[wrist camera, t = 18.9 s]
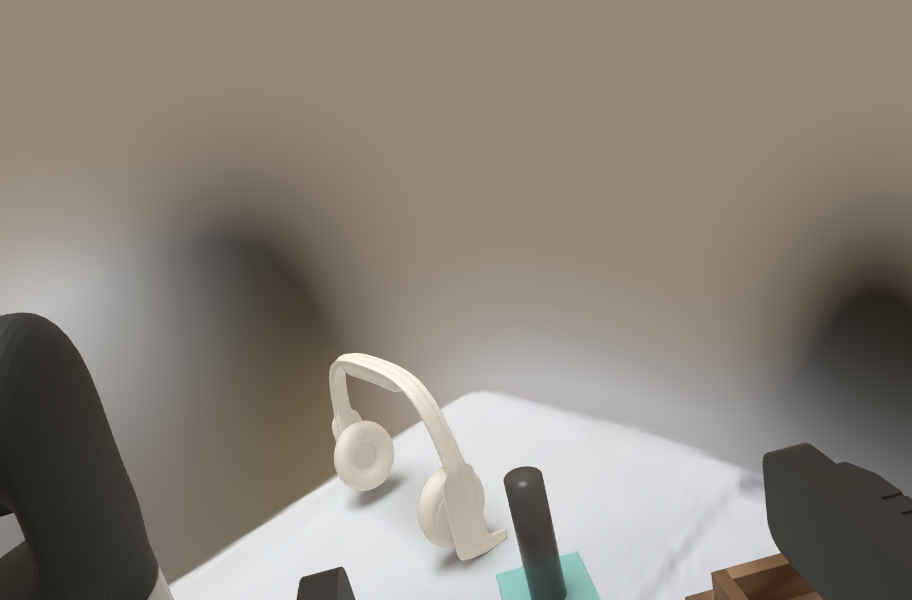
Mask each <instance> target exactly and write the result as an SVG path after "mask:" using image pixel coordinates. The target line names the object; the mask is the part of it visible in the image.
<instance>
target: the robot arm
mask: <svg viewBox="0 0 912 600" xmlns="http://www.w3.org/2000/svg"><path fill="white" fill-rule="evenodd" d="M763 474H764V486H765V498H766V509H767V520H768V526H769V529H770V533H771V535H772V538H773V540H774V542H775V544H776V546H777V547H778V549H779V551H780V552H781V553H782V555H783V556H784V557H785V558H786V559H787V561H788V562H789V563H790V564H791V565H792V566H793V567H794V568H795V569H796V570H797V571H798V573H799V574H800V575H801V576H802V577H803V578H804V579H805V580H806V581H807V582H808V583H809V585H810V586H811V587H812V588H813V589H814V590H815V591H816V592H817V593H818V594H819V595H820V596H821V598H822V599H823V600H912V499H911V498H910V497H908V496H904V495H903V494H902V492H901V491H900V490H899V489H897V488H896V487H894V486H893V485H892V484H890V483H889V482H887V481H886V480H884V479H883V478H882V477H881V476H879V475H877V474H876V473H873V472H871V471H868V470H865V469H863V468H860V467H858V466H855V465H853V464H850V463H847V462H842V463H838V464H836V463H835V462H833V461H832V460H831V459H829V458H828V457H827V456H825V455H824V454H823V453H821V452H820V451H819V450H817V449H816V448H815V447H814V446H812V445H811V444H808V443H802V444H798V445H794V446H790V447H787V448H783V449H779V450H776V451H772V452H768V453H766V454H765V455H764V457H763ZM11 513H14V514H15V515H16V518H17V520H18V523H19V525H20V527H21V530H22V532H23V534H24V538H25V541H24V542H22V543H21V544H19V545H18V546H16V547H15V548H14V549H13V550H11V551H10V552H8V553H7V554H5V555H4V556H3V557H1V558H0V600H174V599H173V596H172V594H171V592H170V590H169V587H168V585H167V583H166V581H165V579H164V576H163V574H162V572H161V570H160V567H159V565H158V563H157V560H156V558H155V555H154V553H153V551H152V548H151V546H150V544H149V540H148V537H147V533H146V529H145V525H144V521H143V518H142V514H141V510H140V506H139V503H138V500H137V497H136V494H135V491H134V489H133V486H132V484H131V482H130V479H129V476H128V474H127V472H126V469H125V467H124V465H123V462H122V459H121V456H120V454H119V451H118V448H117V446H116V443H115V440H114V437H113V435H112V432H111V429H110V426H109V423H108V421H107V418H106V415H105V412H104V409H103V406H102V404H101V401H100V398H99V395H98V392H97V390H96V388H95V385H94V383H93V380H92V377H91V375H90V373H89V371H88V369H87V367H86V365H85V363H84V361H83V359H82V357H81V355H80V353H79V352H78V350H77V349H76V347H75V346H74V345H73V343H72V342H71V340H70V339H69V338H68V336H67V335H66V334H65V333H64V332H63V331H62V330H61V329H60V328H59V327H58V326H57V325H55V324H54V323H52V322H51V321H49V320H48V319H46V318H44V317H42V316H39V315H37V314H32V313H13V314H6V315H2V316H0V517H1V516H4V515H8V514H11ZM297 600H355V597H354V594H353V591H352V588H351V585H350V582H349V579H348V576H347V574H346V571H345V570H344V568H343V567H338V568H335V569H331V570H327V571H323V572H320V573H316V574H312V575H309V576H305V577H302V578H301V580H300V583H299V588H298V595H297Z"/></svg>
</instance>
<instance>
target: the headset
mask: <svg viewBox="0 0 912 600" xmlns="http://www.w3.org/2000/svg"><path fill="white" fill-rule="evenodd" d="M345 372H346V373H347V374H349V375H351V376H354V377H357V378H360V379H363V380H366V381H369V382H371V383H374V384H377V385H379V386H382V387H384V388H386V389H388V390H391V391H394V392H399V391H402V392H404V394H405V395H406V396H407V397H408V398H409V400H410V401H411V402H412V403H413V405H414V407H415V408H416V410H417V411H418V413H419V415H420V416H421V418H422V420H423V422H424V424H425V425H426V427H427V429H428V431H429V434H430V436H431V438H432V440H433V442H434V445H435V447H436V449H437V452H438V454H439V457H440V459H441V462H442V465H443V467H442V468H441V469H439V470H438V471H436V472H435V473H434V474H433V475H432V476H431V477H430V478H429V480H428V481H427V483H426V484H425V486H424V488H423V490H422V492H421V495H420V499H419V504H418V520H419V524H420V527H421V530H422V532H423V533H424V535H425V536H426V538H427V539H428V540H429V541H430V542H432V543H433V544H435V545H437V546H440V547H453V546H455V549H456V552H457V555H458V557H459V559H460V560H461V561H465V560H469V559H472V558H475V557H477V556H479V555H481V554H484V553H486V552H488V551H489V550H491V549H492V548H494V547H495V546H497V545H498V544H500V543H501V542H502V541H504V540H505V539H506V538H507V534H506V531H505V530H504V529H501V530H499V531H496V532H494V533H489V531H488V529H487V527H486V523H485V520H484V515H483V508H484V490H483V486H482V483H481V481H480V479H479V477H478V476H477V475H476V473H475V472H474V470H473V468H472V467H471V466H470V465H469V464H467V463H465V461H464V459H463V457H462V455H461V453H460V450H459V448H458V446H457V443H456V441H455V439H454V437H453V434H452V432H451V430H450V428H449V426H448V424H447V422H446V420H445V418H444V416H443V414H442V412H441V410H440V408H439V407H438V405H437V403H436V402H435V400H434V399H433V397H432V396H431V394H430V393H429V392H428V390H427V389H426V388H425V387H424V385H423V384H422V383H421V382H420V381H419V380H418V379H417V378H416V377H414V376H413V375H412V374H410V373H409V372H408V371H406V370H405V369H403V368H401V367H399V366H397V365H395V364H393V363H390V362H388V361H385V360H382V359H379V358H376V357H373V356H370V355H366V354H361V353H353V354H345V355H342V356H340V357H339V358H338V359H337V360H336V362H334V363H333V364H332V365H331V368H330V373H329V382H330V392H331V399H332V404H333V410H334V420H333V422H332V430H333V434H334V437H335V440H336V443H337V444H336V447H335V452H334V463H335V468H336V471H337V474H338V476H339V477H340V479H341V480H342V481H343V483H344V484H346V485H347V486H348V487H350V488H352V489H354V490H357V491H368V490H372V489H374V488H376V487H378V486H379V485H381V484H382V483H383V482H384V481H385V480H386V478H387V477H388V475H389V473H390V471H391V469H392V466H393V461H394V448H393V444H392V441H391V438H390V436H389V435H388V433H387V432H386V431H385V429H384V428H382V427H381V426H380V425H378V424H376V423H374V422H371V421H362V420H361V418H360V415H359V414H358V412H356V411H355V410H352V409H351V407H350V403H349V399H348V394H347V388H346V380H345Z"/></svg>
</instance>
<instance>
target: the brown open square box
mask: <svg viewBox="0 0 912 600" xmlns="http://www.w3.org/2000/svg"><path fill="white" fill-rule="evenodd" d="M711 575H712V583H713V589H712V590H709V591H705V592H702V593H698V594H694V595H691V596H687V597H685V600H823V599H822V598H821V596H820V595H819V594H818V593H817V592H816V591H815V590H814V589H813V588H812V587H811V586H810V585H809V583H808V582H807V581H806V580H805V579H804V578H803V577H802V576H801V575H800V574H799V573H798V571H797V570H796V569H795V568H794V567H793V566H792V565H791V564H790V563H789V562H788V561H787V559H786V558H785V557H784V556H783V555H782V553H780V554H776V555H773V556H769V557H765V558H762V559H758V560H755V561H751V562H747V563H744V564H740V565H737V566H733V567H730V568H726V569H722V570H719V571H715V572H712V573H711Z"/></svg>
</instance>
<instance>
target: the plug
mask: <svg viewBox="0 0 912 600" xmlns="http://www.w3.org/2000/svg"><path fill="white" fill-rule="evenodd" d="M504 485H505V489H506V494H507V498H508V502H509V507H510V511H511V515H512V519H513V524H514V528H515V532H516V537H517V541H518V545H519V550H520V554H521V558H522V563H523V567H521V568H517V569H514V570H510V571H507V572H503V573H500V574H496V578H497V582H498V586H499V590H500V594H501V598H502V600H601V599H600V597H599V595H598V593H597V591H596V588H595V586H594V584H593V582H592V580H591V578H590V576H589V574H588V572H587V570H586V568H585V565H584V563H583V561H582V559H581V557H580V555H579V553H578V551H577V552H574V553H570V554H567V555H563V556H560V557H559V552H558V548H557V543H556V538H555V533H554V529H553V524H552V519H551V514H550V509H549V505H548V500H547V495H546V490H545V486H544V481H543V476H542V473H541V471H540V470H539V469H537V468H534V467H528V466H526V467H519V468H516V469H513V470H512V471H510V472H509V473H507V474H506V476H505V477H504Z"/></svg>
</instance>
